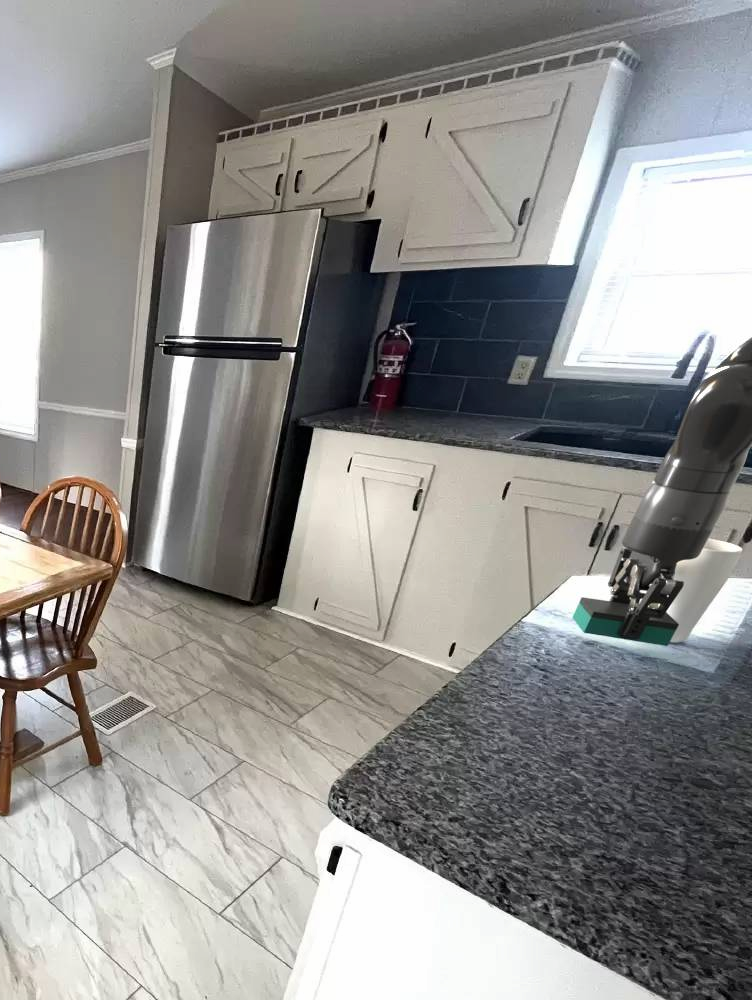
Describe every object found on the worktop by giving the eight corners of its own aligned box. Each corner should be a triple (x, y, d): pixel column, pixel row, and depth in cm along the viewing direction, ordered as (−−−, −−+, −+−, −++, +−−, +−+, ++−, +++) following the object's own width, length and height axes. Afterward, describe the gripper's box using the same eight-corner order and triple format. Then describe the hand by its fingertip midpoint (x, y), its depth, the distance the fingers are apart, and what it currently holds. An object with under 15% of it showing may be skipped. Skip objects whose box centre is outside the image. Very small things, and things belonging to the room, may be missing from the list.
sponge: (651, 629, 93) (662, 608, 92) (667, 646, 89) (679, 624, 87) (572, 617, 97) (581, 597, 95) (583, 632, 93) (593, 611, 91)
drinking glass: (688, 651, 92) (740, 555, 86) (624, 634, 97) (669, 542, 91) (696, 637, 96) (747, 544, 90) (635, 621, 101) (679, 532, 94)
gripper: (740, 539, 78) (675, 657, 85) (688, 507, 89) (634, 613, 97) (657, 530, 81) (601, 644, 89) (617, 501, 93) (570, 604, 100)
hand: (619, 628), depth 93 cm, fingers closed on sponge, 5 cm apart
